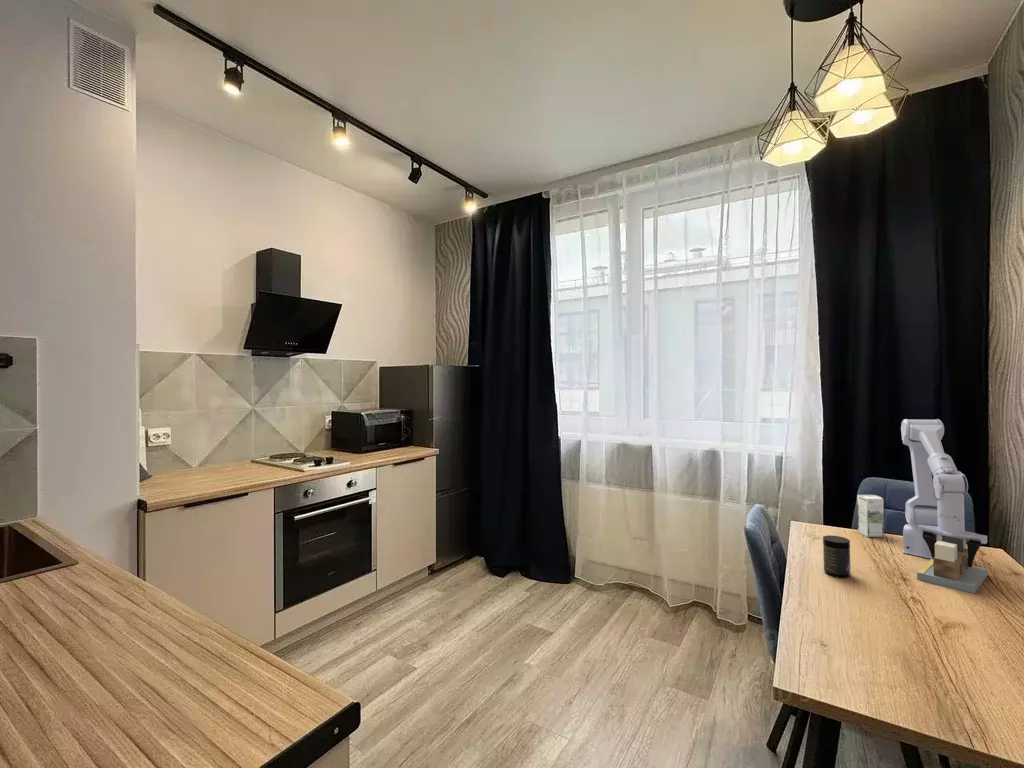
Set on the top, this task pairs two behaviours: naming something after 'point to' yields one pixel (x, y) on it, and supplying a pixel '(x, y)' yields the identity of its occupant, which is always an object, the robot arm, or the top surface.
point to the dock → (966, 582)
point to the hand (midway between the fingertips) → (952, 562)
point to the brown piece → (951, 566)
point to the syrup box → (870, 515)
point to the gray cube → (960, 543)
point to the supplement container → (836, 556)
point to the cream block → (946, 551)
